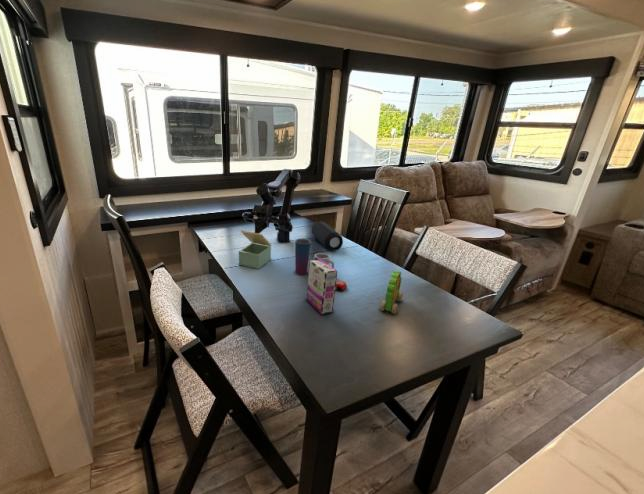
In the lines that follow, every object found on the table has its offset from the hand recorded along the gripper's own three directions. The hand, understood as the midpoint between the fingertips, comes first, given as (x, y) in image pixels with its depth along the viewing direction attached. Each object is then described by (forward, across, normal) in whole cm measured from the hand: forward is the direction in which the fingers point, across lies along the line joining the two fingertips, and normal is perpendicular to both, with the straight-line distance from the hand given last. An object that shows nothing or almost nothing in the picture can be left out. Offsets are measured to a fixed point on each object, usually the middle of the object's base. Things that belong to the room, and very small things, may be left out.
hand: (255, 235), depth 145 cm
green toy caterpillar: (+19, +63, +1) cm, 66 cm away
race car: (+15, +39, +4) cm, 42 cm away
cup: (+10, +24, +9) cm, 27 cm away
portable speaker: (-19, +23, +38) cm, 48 cm away
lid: (+1, 0, +2) cm, 2 cm away
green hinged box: (+10, 0, +9) cm, 13 cm away
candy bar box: (+27, +40, -7) cm, 48 cm away
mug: (+5, +32, +14) cm, 36 cm away
